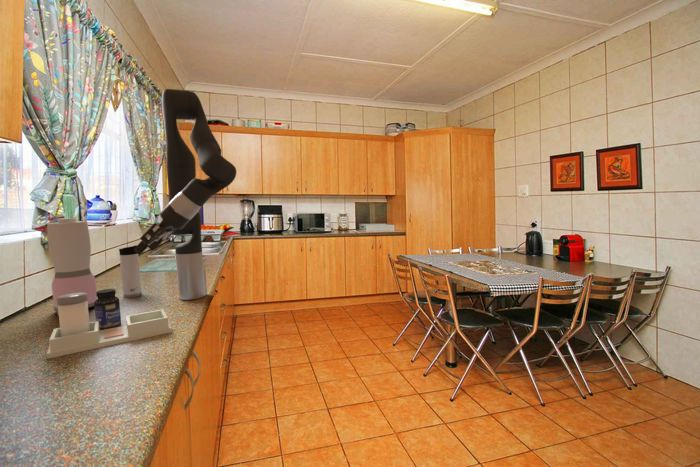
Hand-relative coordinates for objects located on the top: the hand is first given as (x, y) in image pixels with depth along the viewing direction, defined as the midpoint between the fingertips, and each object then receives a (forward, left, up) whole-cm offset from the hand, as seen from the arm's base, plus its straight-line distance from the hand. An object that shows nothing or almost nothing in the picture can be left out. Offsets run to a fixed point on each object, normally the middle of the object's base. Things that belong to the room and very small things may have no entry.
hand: (143, 250), depth 105 cm
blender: (-6, -40, -23) cm, 47 cm away
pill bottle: (+5, -10, -23) cm, 25 cm away
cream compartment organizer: (+11, 0, -22) cm, 25 cm away
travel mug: (-24, -36, -23) cm, 49 cm away
